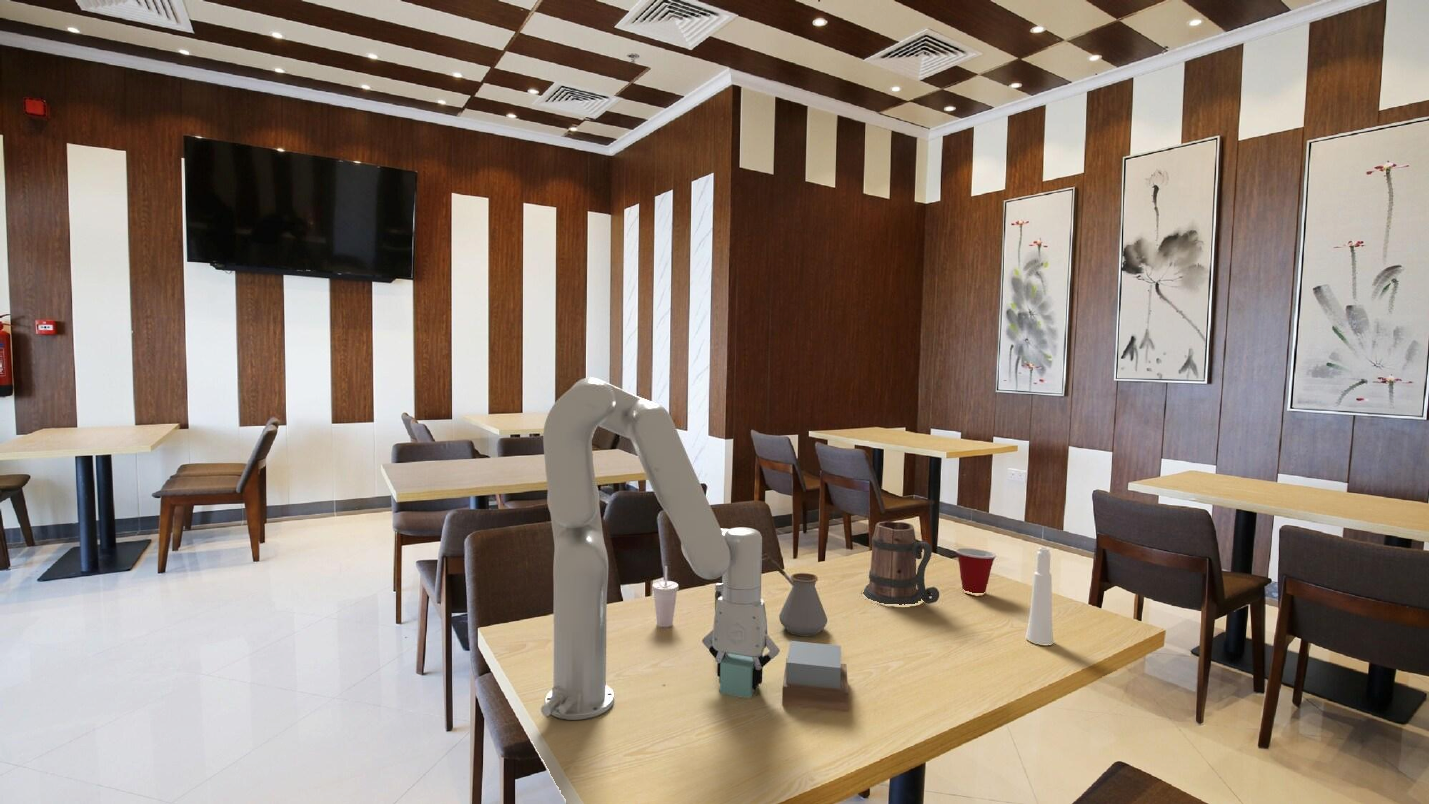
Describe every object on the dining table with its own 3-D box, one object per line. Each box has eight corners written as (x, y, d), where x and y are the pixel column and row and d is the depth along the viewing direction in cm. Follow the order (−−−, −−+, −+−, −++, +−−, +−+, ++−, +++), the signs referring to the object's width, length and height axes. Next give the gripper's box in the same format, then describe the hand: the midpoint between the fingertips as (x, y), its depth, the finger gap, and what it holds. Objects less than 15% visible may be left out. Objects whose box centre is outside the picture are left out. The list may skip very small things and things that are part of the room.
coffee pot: (837, 633, 158) (839, 570, 157) (800, 643, 151) (802, 579, 150) (779, 605, 175) (780, 549, 174) (744, 613, 169) (745, 555, 168)
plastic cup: (997, 591, 190) (999, 549, 189) (991, 602, 180) (993, 558, 180) (958, 583, 195) (959, 543, 195) (949, 594, 186) (951, 552, 185)
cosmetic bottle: (1024, 643, 154) (1029, 549, 153) (1025, 633, 159) (1030, 543, 158) (1053, 648, 151) (1058, 553, 150) (1054, 639, 157) (1058, 547, 155)
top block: (839, 689, 123) (840, 668, 123) (785, 683, 125) (786, 662, 125) (840, 665, 133) (840, 645, 133) (790, 660, 135) (790, 640, 135)
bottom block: (847, 714, 122) (848, 692, 122) (782, 707, 124) (782, 686, 124) (845, 683, 134) (846, 664, 134) (785, 677, 136) (786, 658, 136)
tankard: (848, 592, 186) (850, 521, 185) (891, 583, 195) (893, 515, 194) (912, 620, 166) (915, 541, 165) (957, 609, 175) (961, 534, 174)
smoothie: (679, 619, 164) (680, 563, 163) (675, 630, 157) (676, 572, 157) (654, 618, 164) (655, 562, 164) (649, 628, 158) (649, 570, 157)
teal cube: (749, 698, 126) (750, 667, 126) (719, 692, 128) (720, 662, 128) (758, 684, 132) (758, 654, 131) (729, 679, 134) (729, 649, 133)
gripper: (692, 593, 128) (691, 684, 129) (780, 605, 122) (778, 700, 124) (706, 581, 135) (704, 668, 136) (789, 592, 130) (787, 682, 131)
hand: (739, 682), depth 130 cm, fingers closed on teal cube, 6 cm apart
